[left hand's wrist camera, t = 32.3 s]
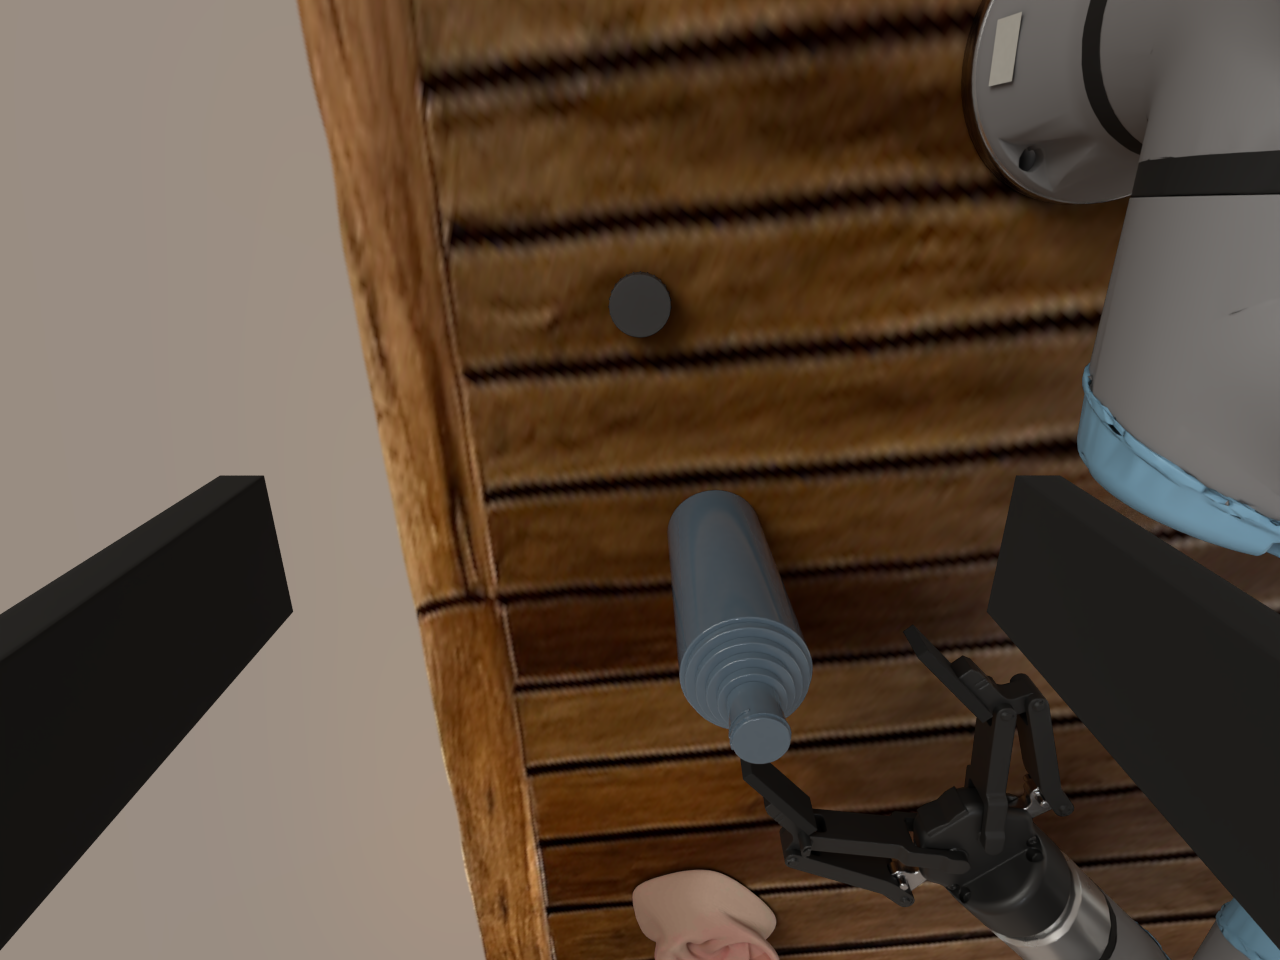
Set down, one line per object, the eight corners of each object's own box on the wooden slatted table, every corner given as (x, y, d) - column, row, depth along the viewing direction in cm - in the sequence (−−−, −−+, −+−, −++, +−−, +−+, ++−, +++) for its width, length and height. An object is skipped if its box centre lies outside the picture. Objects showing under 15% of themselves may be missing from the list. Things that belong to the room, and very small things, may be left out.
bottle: (748, 479, 49) (822, 662, 29) (769, 560, 51) (850, 781, 31) (656, 503, 49) (667, 699, 30) (680, 582, 52) (706, 812, 32)
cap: (626, 259, 43) (626, 261, 42) (681, 289, 44) (683, 292, 42) (599, 316, 45) (597, 320, 43) (652, 343, 45) (653, 349, 44)
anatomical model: (608, 940, 60) (718, 886, 58) (609, 898, 64) (713, 845, 61) (692, 1020, 64) (798, 972, 62) (689, 975, 68) (789, 929, 65)
